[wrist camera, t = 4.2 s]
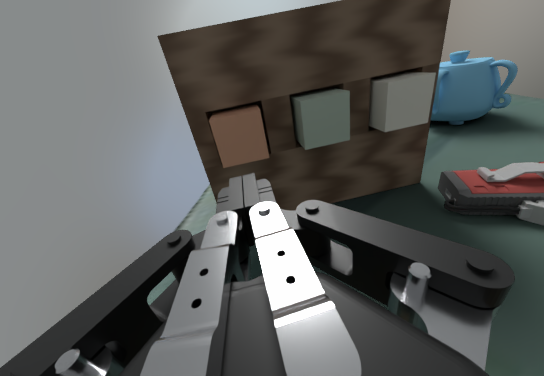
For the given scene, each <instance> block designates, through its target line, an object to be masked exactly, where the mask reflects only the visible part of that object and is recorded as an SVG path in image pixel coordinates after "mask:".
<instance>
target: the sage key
mask: <svg viewBox="0 0 544 376" xmlns="http://www.w3.org/2000/svg"><path fill="white" fill-rule="evenodd" d="M290 99H291V107H292V115H293V122H294V130H295V138H296V140H297V141H298V142H299V143H300V144H301V145H302V146H303V148H304V149H305V150H307V149H312V148H316V147H321V146H325V145H330V144H334V143H339V142H343V141H348V140H350V91H347V90H341V89H336V88H329V89H324V90H320V91H315V92H310V93H305V94H301V95H296V96H291V97H290Z"/></svg>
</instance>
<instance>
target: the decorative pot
mask: <svg viewBox="0 0 544 376" xmlns="http://www.w3.org/2000/svg"><path fill="white" fill-rule="evenodd" d="M469 52H470V51H458V52H454V53H451V54H450V59H451V61H448V62H442V63H440V67H439V73H438V79H437V85H436V91H435V97H434V103H433V109H432V115H431V120H433V121H449V124H451V125H461V124H464V121H466V120H473V119H476V118H479V117H481V116H483V115H485V114H486V113H487V112H488V111H490V110H491V109H492V108H504V107H506V106H508V105H509V104H510V102H511V96H510V95H508V94H503V93H504V92H505V91H506V90H507V88H508V87H509V86H510V84H511V83H512V81H513V80H514V78H515V77H516V74H517V66H516V64H515V63H513V62H511V61H508V60H498V61H495V60H494V58H492V57H488V58H487V57H485V58H474V59H466V58H467V56H468V54H469ZM497 66H504V67H506V68H507V69H508V71H509V73H508V76H507V78H506V80H505V82H504V83H503V85H502V86H501V80H500V76H499V71H498V68H497ZM500 98H504V102H503V103H499V99H500Z"/></svg>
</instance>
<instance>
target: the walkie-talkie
mask: <svg viewBox="0 0 544 376" xmlns="http://www.w3.org/2000/svg"><path fill="white" fill-rule="evenodd" d="M438 189H439V191H440V192H441V194H442V195H443V196H444V198H445V199H446V201H445V204H444V208H445V209H447V210H449V211H454V212H457V213H460V214H463V215H465V214H467V215H514V216H515V215H516V216H517V217H518V218H519V219H521V220H525V221H529V222H533V223H536V224H540V225H544V162H539V163H535V162H529V163H512V164H510V165H508V166H505V167H503V168H501V169H487V168H484V167H479V168H478V170H459V171H444V172H441V176H440V181H439V185H438Z"/></svg>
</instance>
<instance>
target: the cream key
mask: <svg viewBox="0 0 544 376" xmlns="http://www.w3.org/2000/svg"><path fill="white" fill-rule="evenodd" d="M435 75H436V73H423V72H405V73H400V74H395V75H391V76H386V77H381V78H376V79H372V80H370V101H369V126H371V127H373V128H376V129H378V130H381V131H383V132H388V131H393V130H397V129H402V128H406V127H411V126H415V125H420V124H424V123H428V118H429V112H430V106H431V100H432V94H433V88H434V82H435Z"/></svg>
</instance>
